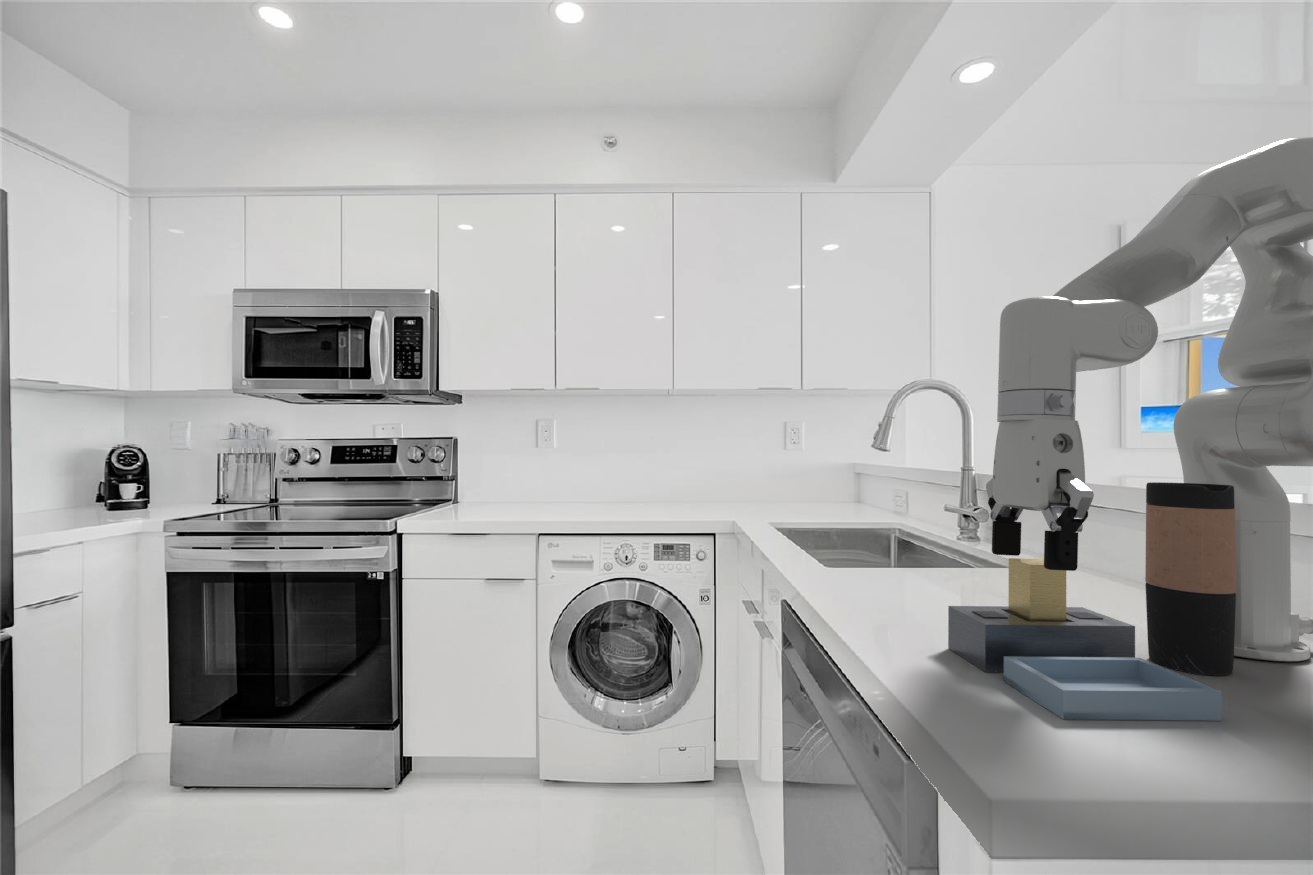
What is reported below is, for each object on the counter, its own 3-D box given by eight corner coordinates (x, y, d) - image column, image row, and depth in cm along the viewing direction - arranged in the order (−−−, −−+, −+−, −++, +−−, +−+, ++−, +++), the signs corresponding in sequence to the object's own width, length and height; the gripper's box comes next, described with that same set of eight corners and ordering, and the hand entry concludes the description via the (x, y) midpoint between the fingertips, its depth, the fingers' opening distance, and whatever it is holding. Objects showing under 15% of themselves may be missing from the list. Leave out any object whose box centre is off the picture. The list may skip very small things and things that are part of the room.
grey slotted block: (1082, 649, 74) (1082, 606, 74) (1135, 673, 66) (1135, 625, 66) (948, 648, 74) (948, 605, 74) (985, 672, 66) (985, 623, 66)
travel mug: (1151, 649, 74) (1150, 481, 75) (1238, 665, 69) (1237, 484, 69) (1140, 664, 69) (1139, 483, 70) (1234, 683, 64) (1233, 486, 64)
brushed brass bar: (1042, 637, 72) (1042, 558, 72) (1066, 648, 68) (1066, 565, 68) (1008, 636, 72) (1008, 558, 72) (1029, 647, 68) (1030, 564, 68)
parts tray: (1139, 682, 63) (1139, 657, 63) (1222, 720, 54) (1221, 691, 54) (1003, 681, 63) (1003, 656, 63) (1063, 719, 54) (1063, 690, 54)
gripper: (1127, 404, 62) (1123, 578, 61) (1021, 415, 79) (1018, 551, 79) (1052, 401, 62) (1048, 575, 61) (963, 413, 79) (959, 548, 78)
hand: (1031, 561), depth 70 cm, fingers open, 9 cm apart
